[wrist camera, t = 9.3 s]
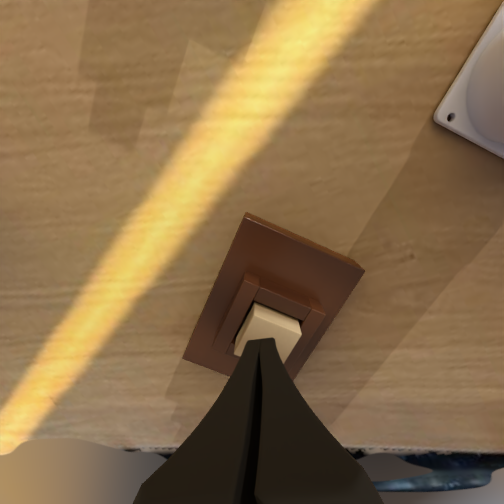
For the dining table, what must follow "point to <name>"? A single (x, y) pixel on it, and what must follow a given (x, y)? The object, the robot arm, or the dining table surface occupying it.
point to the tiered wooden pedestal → (271, 292)
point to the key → (269, 330)
